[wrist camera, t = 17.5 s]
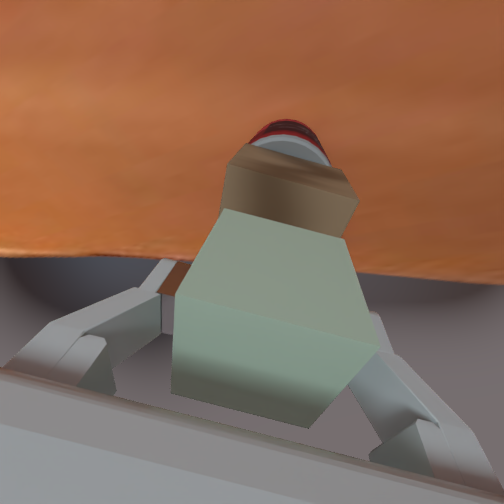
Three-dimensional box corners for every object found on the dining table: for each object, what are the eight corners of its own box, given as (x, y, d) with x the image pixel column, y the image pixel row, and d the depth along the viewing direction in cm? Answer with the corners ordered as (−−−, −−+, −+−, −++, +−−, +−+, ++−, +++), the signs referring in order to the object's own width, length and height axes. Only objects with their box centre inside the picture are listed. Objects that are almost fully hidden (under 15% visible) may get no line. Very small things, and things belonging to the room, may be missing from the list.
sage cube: (344, 239, 9) (381, 347, 5) (303, 318, 11) (308, 428, 8) (224, 207, 9) (175, 293, 5) (210, 294, 11) (170, 393, 8)
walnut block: (341, 169, 15) (359, 200, 11) (306, 248, 18) (310, 295, 14) (246, 142, 15) (227, 163, 11) (228, 227, 18) (209, 268, 14)
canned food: (257, 203, 28) (241, 256, 19) (238, 129, 24) (206, 153, 15) (325, 190, 27) (342, 242, 17) (317, 107, 22) (332, 120, 13)
